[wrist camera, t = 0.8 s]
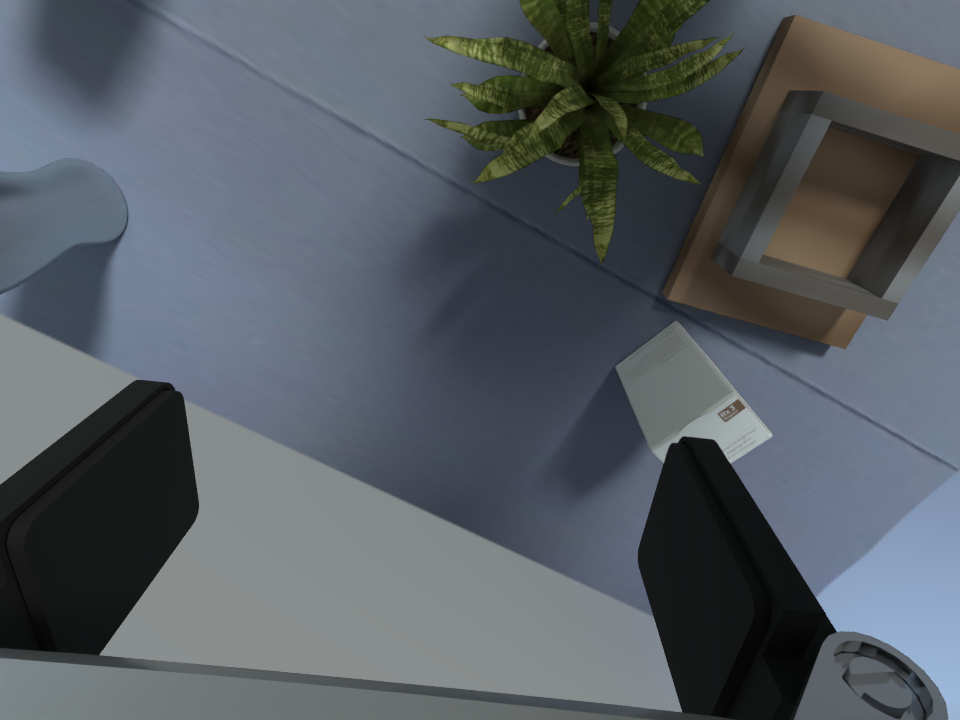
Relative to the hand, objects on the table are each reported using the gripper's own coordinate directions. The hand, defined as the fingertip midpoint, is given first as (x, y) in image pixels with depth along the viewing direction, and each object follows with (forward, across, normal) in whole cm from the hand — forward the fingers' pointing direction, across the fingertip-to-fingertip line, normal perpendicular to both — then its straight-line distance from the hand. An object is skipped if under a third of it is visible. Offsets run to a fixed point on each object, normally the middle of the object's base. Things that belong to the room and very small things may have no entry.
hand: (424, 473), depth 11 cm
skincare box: (+31, -15, +10) cm, 36 cm away
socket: (+31, -23, -3) cm, 38 cm away
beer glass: (+32, +28, +3) cm, 42 cm away
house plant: (+31, -5, -9) cm, 33 cm away
